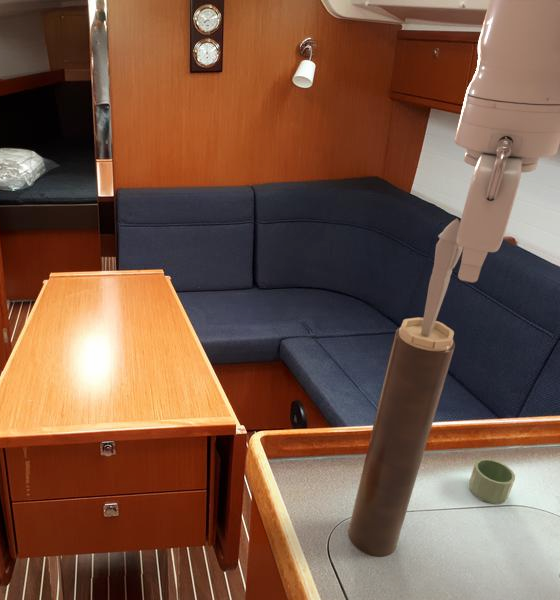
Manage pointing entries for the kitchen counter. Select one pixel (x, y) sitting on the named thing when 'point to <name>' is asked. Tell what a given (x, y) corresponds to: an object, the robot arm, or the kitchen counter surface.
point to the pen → (441, 274)
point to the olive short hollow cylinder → (491, 481)
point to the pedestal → (397, 445)
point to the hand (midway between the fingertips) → (471, 263)
